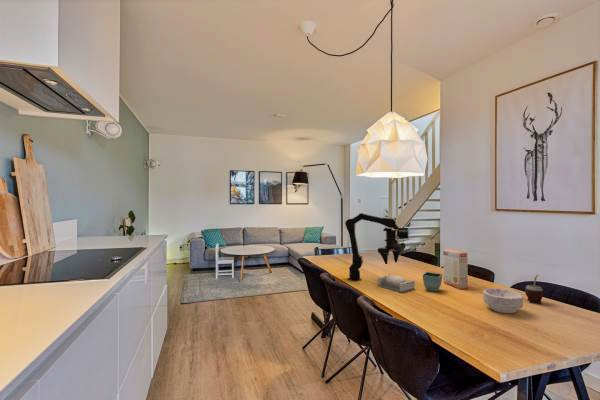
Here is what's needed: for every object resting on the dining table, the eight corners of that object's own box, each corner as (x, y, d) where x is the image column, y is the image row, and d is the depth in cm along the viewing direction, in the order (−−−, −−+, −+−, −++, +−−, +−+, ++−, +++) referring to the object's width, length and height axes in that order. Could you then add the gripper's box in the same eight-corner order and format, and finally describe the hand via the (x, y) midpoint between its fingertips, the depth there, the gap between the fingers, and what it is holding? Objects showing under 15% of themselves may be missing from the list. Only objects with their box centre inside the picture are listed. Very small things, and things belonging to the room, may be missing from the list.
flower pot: (439, 293, 162) (439, 277, 162) (422, 290, 167) (422, 274, 167) (442, 289, 169) (442, 273, 169) (426, 287, 174) (426, 271, 174)
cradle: (378, 286, 177) (378, 277, 177) (391, 282, 183) (391, 274, 183) (401, 293, 163) (401, 284, 163) (414, 289, 170) (414, 280, 170)
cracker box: (468, 288, 170) (468, 252, 170) (459, 289, 169) (458, 253, 169) (451, 282, 184) (451, 248, 184) (443, 282, 183) (442, 249, 183)
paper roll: (385, 284, 176) (385, 274, 176) (392, 283, 179) (392, 273, 179) (400, 289, 167) (400, 278, 167) (406, 287, 171) (406, 276, 171)
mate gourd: (531, 299, 152) (531, 270, 152) (548, 304, 144) (548, 273, 144) (521, 300, 150) (521, 271, 150) (538, 306, 142) (537, 274, 142)
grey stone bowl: (505, 317, 128) (505, 299, 128) (475, 305, 143) (475, 289, 143) (531, 314, 132) (531, 296, 132) (500, 302, 147) (500, 286, 147)
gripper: (391, 240, 173) (392, 267, 173) (411, 238, 183) (411, 263, 183) (377, 238, 182) (377, 264, 182) (396, 236, 193) (396, 260, 192)
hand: (391, 263), depth 185 cm, fingers open, 9 cm apart
